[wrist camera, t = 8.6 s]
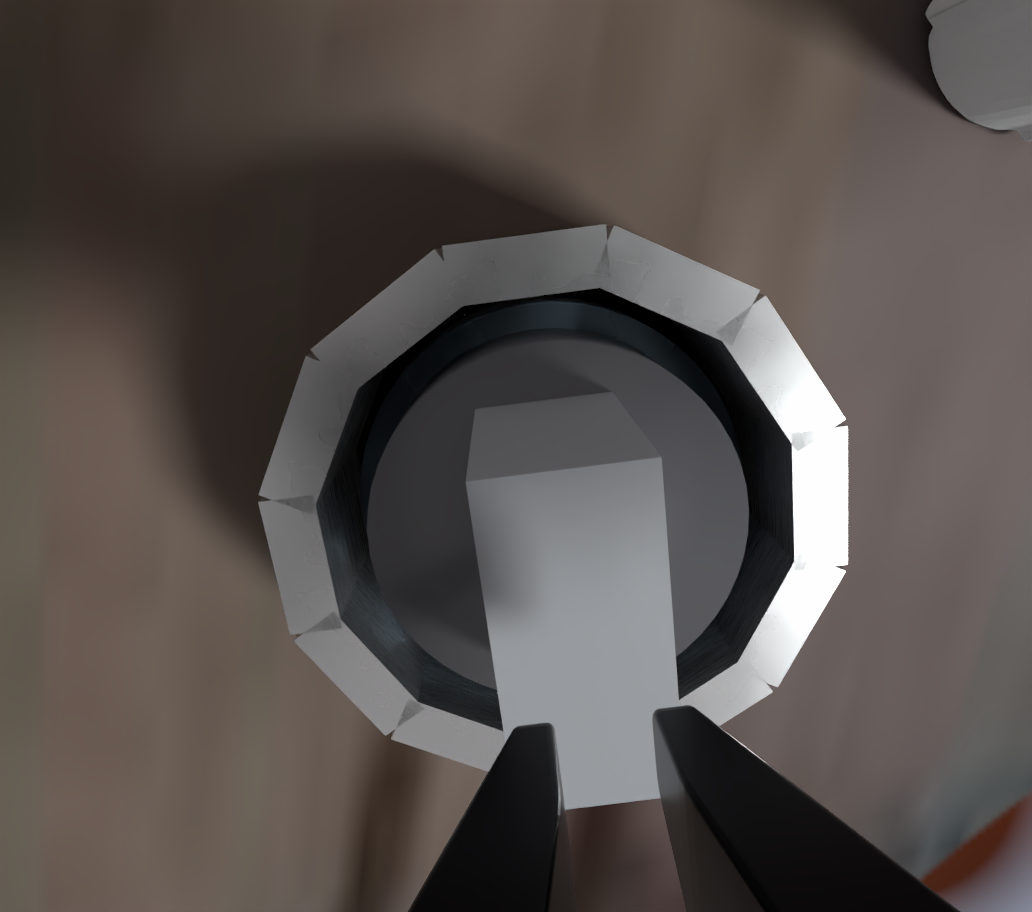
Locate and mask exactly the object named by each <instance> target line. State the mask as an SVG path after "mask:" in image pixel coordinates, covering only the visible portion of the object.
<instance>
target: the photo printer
mask: <svg viewBox="0 0 1032 912" xmlns="http://www.w3.org/2000/svg"><path fill="white" fill-rule="evenodd" d="M925 15H926V17H927V19H928V20H929V22H930V23H931V25H932V26H933V28H932V30H931V33H930V35H929V44H928V47H929V53H930V59H931V65H932V69H933V73H934V75H935V78H936V81H937V83H938V85H939V87H940V89H941V91H942V92H943V94H944V95H945V97H946V99H947V100H948V101H949V102H950V104H951V105H952V106H953V107H954V108H955V109H956V110H957V111H958V112H960V113H961V114H962V115H963V116H964V117H965V118H967V119H968V120H970V121H972V122H974V123H976V124H979V125H982V126H985V127H988V128H992V129H996V130H1016V131H1017V132H1018V133H1019V135H1020V136H1021V137H1022V139H1023V140H1025V141H1028V142H1030V141H1032V0H932V2H931V3H930V5H929V7H928V9H927V11H926V13H925Z"/></svg>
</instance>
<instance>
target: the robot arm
mask: <svg viewBox="0 0 1032 912" xmlns="http://www.w3.org/2000/svg"><path fill="white" fill-rule="evenodd" d="M652 723H653V736H654V747H655V759H656V770H657V780H658V787H659V792H660V797H661V802H662V806H663V811H664V815H665V819H666V824H667V828H668V832H669V837H670V841H671V845H672V850H673V854H674V858H675V863H676V867H677V871H678V876H679V880H680V884H681V889H682V893H683V897H684V902H685V906H686V910H687V912H960V911H959V910H957V909H956V908H955V907H953V906H952V905H951V904H949V903H948V902H947V901H945V900H944V899H943V898H942V897H940V896H939V895H938V894H936V893H935V892H934V891H933V890H931V889H930V888H929V887H927V886H926V885H925V884H923V883H922V882H921V881H920V880H918V879H917V878H916V877H914V876H913V875H912V874H911V873H909V872H908V871H907V870H905V869H904V868H903V867H901V866H900V865H899V864H898V863H896V862H895V861H894V860H892V859H891V858H890V857H888V856H887V855H886V854H885V853H883V852H882V851H881V850H879V849H878V848H877V847H875V846H874V845H873V844H872V843H870V842H869V841H868V840H866V839H865V838H864V837H862V836H861V835H860V834H859V833H857V832H856V831H855V830H853V829H852V828H851V827H849V826H848V825H847V824H846V823H844V822H843V821H842V820H840V819H839V818H838V817H836V816H835V815H834V814H833V813H831V812H830V811H829V810H827V809H826V808H825V807H823V806H822V805H821V804H820V803H818V802H817V801H816V800H814V799H813V798H812V797H810V796H809V795H808V794H807V793H805V792H804V791H803V790H801V789H800V788H799V787H797V786H796V785H795V784H794V783H792V782H791V781H790V780H788V779H787V778H786V777H784V776H783V775H782V774H781V773H779V772H778V771H777V770H775V769H774V768H773V767H771V766H770V765H769V764H768V763H766V762H765V761H764V760H762V759H761V758H760V757H758V756H757V755H756V754H755V753H753V752H752V751H751V750H749V749H748V748H747V747H745V746H744V745H743V744H742V743H740V742H739V741H738V740H736V739H735V738H734V737H732V736H731V735H730V734H729V733H727V732H726V731H725V730H723V729H722V728H721V727H719V726H718V725H717V724H716V723H714V722H713V721H712V720H710V719H709V718H708V717H706V716H705V715H704V714H703V713H701V712H700V711H699V710H697V709H696V708H694V707H692V706H690V705H684V706H676V707H668V708H660V709H656V710H655V711H654V713H653V716H652ZM408 912H577V904H576V896H575V888H574V879H573V871H572V863H571V855H570V846H569V838H568V830H567V821H566V813H565V805H564V797H563V789H562V781H561V774H560V766H559V758H558V751H557V743H556V736H555V729H554V726H553V725H552V724H551V723H547V722H546V723H538V724H529V725H521V726H517V727H516V728H514V729H513V731H512V732H511V734H510V736H509V737H508V739H507V741H506V743H505V744H504V746H503V748H502V749H501V751H500V753H499V755H498V756H497V758H496V760H495V762H494V763H493V765H492V767H491V769H490V770H489V772H488V774H487V775H486V777H485V779H484V781H483V782H482V784H481V786H480V788H479V789H478V791H477V793H476V795H475V796H474V798H473V800H472V801H471V803H470V805H469V807H468V808H467V810H466V812H465V814H464V815H463V817H462V819H461V820H460V822H459V824H458V826H457V827H456V829H455V831H454V833H453V834H452V836H451V838H450V839H449V841H448V843H447V845H446V846H445V848H444V850H443V852H442V853H441V855H440V857H439V859H438V860H437V862H436V864H435V865H434V867H433V869H432V871H431V872H430V874H429V876H428V878H427V879H426V881H425V883H424V884H423V886H422V888H421V890H420V891H419V893H418V895H417V897H416V898H415V900H414V902H413V903H412V905H411V907H410V909H409V910H408Z"/></svg>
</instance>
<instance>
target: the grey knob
mask: <svg viewBox="0 0 1032 912" xmlns="http://www.w3.org/2000/svg"><path fill="white" fill-rule="evenodd" d="M748 522H749V505H748V496H747V486H746V482H745V478H744V474H743V470H742V466H741V463H740V460H739V458H738V455H737V453H736V451H735V448H734V446H733V443H732V441H731V439H730V437H729V436H728V434H727V432H726V431H725V429H724V427H723V426H722V424H721V422H720V421H719V419H718V418H717V417H716V415H715V414H714V413H713V412H712V411H711V409H710V408H709V407H708V406H707V404H706V403H705V402H704V401H703V400H702V399H701V398H700V397H699V396H698V395H697V394H696V393H695V392H694V391H693V390H692V389H690V388H689V387H688V386H687V385H686V384H685V383H684V382H682V381H681V380H680V379H679V378H677V377H676V376H675V375H673V374H672V373H671V372H669V371H668V370H667V369H666V368H664V367H663V366H662V365H660V364H659V363H657V362H656V361H655V360H653V359H652V358H650V357H649V356H647V355H646V354H645V353H643V352H641V351H639V350H638V349H636V348H634V347H632V346H630V345H628V344H626V343H624V342H622V341H619V340H616V339H613V338H610V337H608V336H605V335H602V334H598V333H593V332H588V331H583V330H578V329H565V328H544V329H530V330H525V331H520V332H515V333H510V334H506V335H504V336H501V337H498V338H495V339H492V340H489V341H486V342H484V343H482V344H480V345H478V346H476V347H474V348H472V349H470V350H468V351H466V352H464V353H463V354H461V355H460V356H458V357H457V358H455V359H454V360H452V361H451V362H449V363H448V364H446V365H445V366H444V367H443V368H442V369H441V370H440V371H438V372H437V373H436V374H435V375H434V376H433V377H432V378H431V379H430V380H429V381H428V382H427V383H426V384H425V385H424V386H423V388H422V389H421V390H420V391H419V392H418V393H417V395H416V396H415V397H414V399H413V400H412V402H411V403H410V405H409V406H408V408H407V409H406V411H405V412H404V414H403V416H402V418H401V419H400V421H399V423H398V425H397V427H396V429H395V431H394V432H393V434H392V436H391V438H390V440H389V442H388V444H387V446H386V448H385V450H384V453H383V455H382V457H381V459H380V461H379V463H378V466H377V470H376V473H375V476H374V479H373V483H372V486H371V492H370V498H369V504H368V518H367V535H368V543H369V551H370V558H371V561H372V565H373V569H374V573H375V576H376V579H377V582H378V584H379V587H380V589H381V591H382V594H383V596H384V598H385V600H386V602H387V604H388V605H389V607H390V609H391V610H392V612H393V614H394V615H395V617H396V619H397V620H398V621H399V623H400V624H401V625H402V626H403V628H404V629H405V630H406V631H407V633H408V634H409V635H410V636H411V638H412V639H413V640H415V641H416V642H417V643H418V644H419V645H420V646H421V647H422V648H423V649H424V650H425V651H426V652H427V653H428V654H429V655H431V656H432V657H433V658H435V659H436V660H437V661H439V662H440V663H441V664H443V665H444V666H446V667H447V668H449V669H451V670H452V671H454V672H456V673H458V674H459V675H461V676H463V677H465V678H467V679H469V680H472V681H474V682H476V683H479V684H481V685H484V686H486V687H489V688H493V689H496V690H497V692H498V698H499V705H500V711H501V718H502V725H503V731H504V738H505V743H506V741H507V739H508V737H509V736H510V734H511V732H512V731H513V729H514V728H516V727H517V726H521V725H529V724H538V723H546V722H547V723H551V724H552V725H553V726H554V729H555V736H556V743H557V751H558V758H559V766H560V774H561V781H562V789H563V797H564V805H565V809H573V808H582V807H590V806H598V805H607V804H615V803H623V802H631V801H640V800H648V799H656V798H661V797H660V792H659V787H658V780H657V770H656V759H655V747H654V736H653V723H652V716H653V713H654V711H655V710H656V709H660V708H668V707H676V706H679V695H678V681H677V666H676V656H677V655H679V654H680V653H682V652H683V651H684V650H685V649H686V648H687V647H688V646H689V645H690V644H691V643H693V642H694V641H695V640H696V639H697V638H698V637H699V636H700V635H701V634H702V633H703V631H704V630H705V629H706V628H707V626H708V625H709V624H710V623H711V622H712V620H713V619H714V618H715V617H716V615H717V614H718V612H719V610H720V609H721V607H722V606H723V604H724V603H725V601H726V599H727V598H728V596H729V594H730V591H731V589H732V587H733V585H734V583H735V581H736V579H737V576H738V573H739V570H740V567H741V564H742V560H743V557H744V553H745V548H746V542H747V536H748Z"/></svg>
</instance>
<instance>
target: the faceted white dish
mask: <svg viewBox="0 0 1032 912" xmlns="http://www.w3.org/2000/svg"><path fill="white" fill-rule="evenodd" d="M595 288H601V289H604V290H606V291H608V292H611V293H613V294H615V295H617V296H620V297H622V298H624V299H627V300H629V301H631V302H634V303H636V304H638V305H640V306H643V307H645V308H647V309H650V310H652V311H654V312H657V313H659V314H661V315H663V316H666V317H668V318H670V319H671V320H672V321H673V323H674V324H675V326H676V327H677V329H678V330H679V332H680V333H681V334H682V336H683V337H684V339H685V340H686V342H687V343H688V345H689V346H690V347H691V349H692V350H693V352H694V353H695V355H696V356H697V358H698V359H699V361H700V362H701V363H702V365H703V366H704V368H705V369H706V371H707V372H708V374H709V375H710V376H711V378H712V379H713V381H714V382H715V384H716V385H717V387H718V388H719V389H720V391H721V392H722V394H723V395H724V397H725V400H726V407H725V405H724V403H723V401H722V400H721V398H720V396H719V394H718V393H717V391H716V389H715V388H714V386H713V384H712V383H711V381H710V380H709V379H708V378H707V376H706V375H705V374H704V373H703V371H702V370H701V369H700V368H699V366H698V365H697V364H696V363H695V362H694V361H693V360H692V359H691V358H690V357H689V356H688V355H687V354H685V353H684V352H683V351H682V350H681V349H680V348H679V347H678V346H677V345H675V344H674V343H673V342H671V341H670V340H668V339H667V338H665V337H664V336H663V335H661V334H660V333H658V332H657V331H655V330H654V329H652V328H650V327H648V326H647V325H645V324H643V323H641V322H640V321H638V320H636V319H634V318H632V317H630V316H628V315H626V314H624V313H622V312H620V311H618V310H616V309H613V308H610V307H607V306H605V305H602V304H599V303H596V302H592V301H587V300H582V299H577V298H572V297H557V296H542V295H549V294H557V293H564V292H572V291H580V290H587V289H595ZM759 291H760V290H758V289H756V288H754V287H751V286H749V285H747V284H745V283H742V282H740V281H738V280H736V279H734V278H731V277H729V276H727V275H725V274H722V273H720V272H718V271H716V270H713V269H711V268H709V267H707V266H704V265H702V264H700V263H698V262H696V261H693V260H691V259H689V258H687V257H684V256H682V255H680V254H678V253H675V252H673V251H671V250H669V249H667V248H664V247H662V246H660V245H658V244H655V243H653V242H651V241H649V240H646V239H644V238H642V237H640V236H637V235H635V234H633V233H631V232H629V231H626V230H624V229H622V228H620V227H617V226H615V225H611V226H606V224H602V225H594V226H587V227H579V228H572V229H564V230H557V231H549V232H542V233H534V234H527V235H519V236H512V237H504V238H497V239H489V240H482V241H474V242H467V243H459V244H452V245H444V246H442V248H439V249H434V250H433V251H431V252H430V253H429V254H428V255H426V256H425V257H424V258H423V259H421V260H420V261H419V262H418V263H417V264H415V265H414V266H413V267H412V268H410V269H409V270H408V271H407V272H405V273H404V274H403V275H402V276H400V277H399V278H398V279H397V280H395V281H394V282H393V283H392V284H391V285H389V286H388V287H387V288H386V289H384V290H383V291H382V292H381V293H379V294H378V295H377V296H376V297H374V298H373V299H372V300H371V301H370V302H368V303H367V304H366V305H365V306H363V307H362V308H361V309H360V310H358V311H357V312H356V313H355V314H353V315H352V316H351V317H350V318H349V319H347V320H346V321H345V322H344V323H342V324H341V325H340V326H339V327H337V328H336V329H335V330H334V331H332V332H331V333H330V334H329V335H327V336H326V337H325V338H324V339H323V340H321V341H320V342H319V343H318V344H316V345H315V346H314V347H313V348H311V349H310V350H311V351H312V352H311V353H310V354H308V355H306V357H305V360H304V363H303V365H302V368H301V371H300V374H299V377H298V380H297V383H296V386H295V389H294V392H293V395H292V398H291V401H290V404H289V407H288V409H287V412H286V415H285V418H284V421H283V424H282V427H281V430H280V433H279V436H278V439H277V442H276V445H275V448H274V451H273V453H272V456H271V459H270V462H269V465H268V468H267V471H266V474H265V477H264V480H263V483H262V486H261V489H260V492H259V495H260V496H262V498H261V499H260V501H259V502H258V504H259V508H260V512H261V516H262V520H263V524H264V529H265V533H266V537H267V541H268V545H269V549H270V553H271V558H272V562H273V566H274V570H275V574H276V578H277V582H278V587H279V591H280V595H281V599H282V603H283V607H284V611H285V615H286V620H287V624H288V628H289V632H290V635H293V634H297V635H296V637H295V639H294V642H295V643H296V644H297V645H298V646H299V647H300V648H301V649H302V650H303V651H304V652H305V653H306V654H307V655H308V656H309V657H310V658H311V659H312V660H313V661H314V662H315V663H316V665H317V666H318V667H319V668H320V669H321V670H322V671H323V672H324V673H325V674H326V675H327V676H328V677H329V678H330V679H331V680H332V681H333V682H334V683H335V684H336V685H337V686H338V687H339V688H340V689H341V690H342V691H343V692H344V693H345V695H346V696H347V697H348V698H349V699H350V700H351V701H352V702H353V703H354V704H355V705H356V706H357V707H358V708H359V709H360V710H361V711H362V712H363V713H364V714H365V715H366V716H367V717H368V718H369V719H370V720H371V721H372V722H373V723H374V724H375V726H376V727H377V728H378V729H379V730H380V731H381V732H382V733H383V734H384V735H385V736H386V735H387V734H389V733H390V732H392V731H393V732H392V737H391V739H392V740H395V741H398V742H401V743H404V744H407V745H410V746H413V747H416V748H419V749H422V750H425V751H428V752H431V753H434V754H437V755H440V756H443V757H446V758H449V759H452V760H455V761H458V762H461V763H464V764H467V765H470V766H473V767H476V768H479V769H482V770H485V771H488V772H489V770H490V769H491V767H492V765H493V763H494V762H495V760H496V758H497V756H498V755H499V753H500V751H501V749H502V748H503V746H504V744H505V738H504V731H503V725H502V718H501V711H500V705H499V698H498V692H497V690H496V689H493V688H489V687H486V686H484V685H481V684H479V683H476V682H474V681H472V680H469V679H467V678H465V677H463V676H461V675H459V674H458V673H456V672H454V671H452V670H451V669H449V668H447V667H446V666H444V665H443V664H441V663H440V662H439V661H437V660H436V659H435V658H433V657H432V656H431V655H429V654H428V653H427V652H426V651H425V650H424V649H423V648H422V647H421V646H420V645H419V644H418V643H417V642H416V641H415V640H413V639H412V638H411V636H410V635H409V634H408V633H407V631H406V630H405V629H404V628H403V626H402V625H401V624H400V623H399V621H398V620H397V619H396V617H395V615H394V614H393V612H392V610H391V609H390V607H389V605H388V604H387V602H386V600H385V598H384V596H383V594H382V591H381V589H380V587H379V584H378V582H377V579H376V576H375V573H374V569H373V565H372V561H371V558H370V551H369V543H368V535H367V518H368V504H369V498H370V492H371V486H372V483H373V479H374V476H375V473H376V470H377V466H378V463H379V461H380V459H381V457H382V455H383V453H384V450H385V448H386V446H387V444H388V442H389V440H390V438H391V436H392V434H393V432H394V431H395V429H396V427H397V425H398V423H399V421H400V419H401V418H402V416H403V414H404V412H405V411H406V409H407V408H408V406H409V405H410V403H411V402H412V400H413V399H414V397H415V396H416V395H417V393H418V392H419V391H420V390H421V389H422V388H423V386H424V385H425V384H426V383H427V382H428V381H429V380H430V379H431V378H432V377H433V376H434V375H435V374H436V373H437V372H438V371H440V370H441V369H442V368H443V367H444V366H445V365H446V364H448V363H449V362H451V361H452V360H454V359H455V358H457V357H458V356H460V355H461V354H463V353H464V352H466V351H468V350H470V349H472V348H474V347H476V346H478V345H480V344H482V343H484V342H486V341H489V340H492V339H495V338H498V337H501V336H504V335H506V334H510V333H515V332H520V331H525V330H530V329H544V328H565V329H578V330H583V331H588V332H593V333H598V334H602V335H605V336H608V337H610V338H613V339H616V340H619V341H622V342H624V343H626V344H628V345H630V346H632V347H634V348H636V349H638V350H639V351H641V352H643V353H645V354H646V355H647V356H649V357H650V358H652V359H653V360H655V361H656V362H657V363H659V364H660V365H662V366H663V367H664V368H666V369H667V370H668V371H669V372H671V373H672V374H673V375H675V376H676V377H677V378H679V379H680V380H681V381H682V382H684V383H685V384H686V385H687V386H688V387H689V388H690V389H692V390H693V391H694V392H695V393H696V394H697V395H698V396H699V397H700V398H701V399H702V400H703V401H704V402H705V403H706V404H707V406H708V407H709V408H710V409H711V411H712V412H713V413H714V414H715V415H716V417H717V418H718V419H719V421H720V422H721V424H722V426H723V427H724V429H725V431H726V432H727V434H728V436H729V437H730V439H731V441H732V443H733V446H734V448H735V451H736V453H737V455H738V458H739V460H740V463H741V466H742V470H743V474H744V478H745V482H746V486H747V496H748V505H749V522H748V536H747V542H746V548H745V553H744V557H743V560H742V564H741V567H740V570H739V573H738V576H737V579H736V581H735V583H734V585H733V587H732V589H731V591H730V594H729V596H728V598H727V599H726V601H725V603H724V604H723V606H722V607H721V609H720V610H719V612H718V614H717V615H716V617H715V618H714V619H713V620H712V622H711V623H710V624H709V625H708V626H707V628H706V629H705V630H704V631H703V633H702V634H701V635H700V636H699V637H698V638H697V639H696V640H695V641H694V642H693V643H691V644H690V645H689V646H688V647H687V648H686V649H685V650H684V651H683V652H682V653H680V654H679V655H677V656H676V666H677V681H678V695H679V706H684V705H690V706H692V707H694V708H696V709H697V710H699V711H700V712H701V713H703V714H704V715H705V716H706V717H708V718H709V719H710V720H712V721H713V722H714V723H716V724H717V725H718V726H720V725H722V724H723V723H725V722H726V721H728V720H729V719H731V718H733V717H734V716H736V715H737V714H739V713H741V712H742V711H744V710H745V709H747V708H748V707H750V706H752V705H753V704H755V703H756V702H758V701H760V700H761V699H763V698H764V697H766V696H767V695H769V694H771V693H772V692H773V691H772V689H771V688H770V686H769V685H768V684H770V685H773V686H776V687H778V686H779V684H780V682H781V681H782V679H783V677H784V676H785V674H786V672H787V671H788V669H789V667H790V665H791V664H792V662H793V660H794V659H795V657H796V655H797V654H798V652H799V650H800V648H801V647H802V645H803V643H804V642H805V640H806V638H807V637H808V635H809V633H810V631H811V630H812V628H813V626H814V625H815V623H816V621H817V620H818V618H819V616H820V614H821V613H822V611H823V609H824V608H825V606H826V604H827V603H828V601H829V599H830V597H831V596H832V594H833V592H834V591H835V589H836V587H837V586H838V584H839V582H840V580H841V579H842V577H843V575H844V574H845V572H846V571H845V570H844V569H843V568H842V567H841V565H848V426H847V425H845V424H843V423H841V422H843V421H844V420H846V419H845V417H844V416H843V414H842V412H841V411H840V409H839V408H838V406H837V405H836V403H835V402H834V400H833V399H832V397H831V395H830V394H829V392H828V391H827V389H826V388H825V386H824V385H823V383H822V382H821V380H820V378H819V377H818V375H817V374H816V372H815V371H814V369H813V368H812V366H811V365H810V363H809V361H808V360H807V358H806V357H805V355H804V354H803V352H802V351H801V349H800V348H799V346H798V344H797V343H796V341H795V340H794V338H793V337H792V335H791V334H790V332H789V331H788V329H787V327H786V326H785V324H784V323H783V321H782V320H781V318H780V317H779V315H778V314H777V312H776V310H775V309H774V307H773V306H772V304H771V303H770V301H769V300H768V298H767V297H766V295H762V294H758V293H759ZM534 296H540V297H534ZM519 298H520V299H519ZM512 299H515V300H512ZM504 300H510V301H505V302H501V303H498V304H495V305H492V306H489V307H486V308H483V309H481V310H478V311H476V312H474V313H472V314H470V315H468V316H466V317H464V318H462V319H460V320H458V321H457V322H455V323H454V324H452V325H451V326H450V327H448V328H447V329H445V330H444V331H442V332H441V333H439V334H438V335H437V336H436V337H435V338H434V339H433V340H431V341H430V342H429V343H428V344H427V345H426V346H425V347H424V348H423V349H422V350H421V351H420V352H419V353H418V354H417V356H416V357H415V358H414V359H413V360H412V361H411V363H410V364H409V365H408V366H407V367H406V369H405V370H404V372H403V373H402V374H401V376H400V377H399V378H398V380H397V381H396V383H395V384H394V386H393V387H392V389H391V390H390V392H389V393H388V395H387V397H386V398H385V400H384V401H383V403H382V405H381V407H380V409H379V411H378V413H377V416H376V418H375V420H374V422H373V424H372V426H371V430H370V433H369V436H368V440H367V443H366V446H365V450H364V456H363V462H362V469H361V465H360V460H359V455H358V450H357V444H358V441H359V438H360V436H361V433H362V430H363V428H364V425H365V422H366V420H367V417H368V414H369V411H370V409H371V406H372V403H373V401H374V398H375V395H376V393H377V390H378V387H379V385H380V382H381V379H382V376H383V374H384V371H385V368H386V366H387V365H389V364H390V363H391V362H392V361H394V360H395V359H396V358H397V357H399V356H400V355H401V354H403V353H404V352H405V351H406V350H408V349H409V348H410V347H411V346H413V345H414V344H415V343H416V342H418V341H419V340H420V339H422V338H423V337H424V336H425V335H427V334H428V333H429V332H430V331H432V330H433V329H434V328H436V327H437V326H438V325H439V324H441V323H442V322H443V321H444V320H446V319H447V318H448V317H449V316H451V315H452V314H453V313H455V312H456V311H457V310H458V309H460V308H461V307H462V306H466V305H474V304H481V303H489V302H496V301H504Z"/></svg>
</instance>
